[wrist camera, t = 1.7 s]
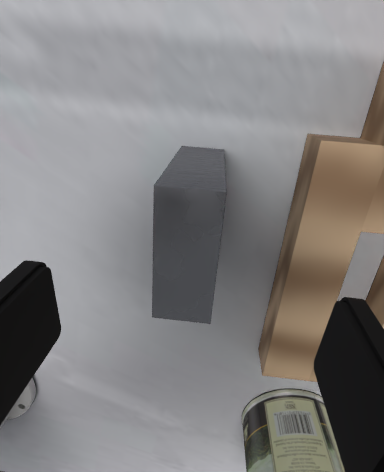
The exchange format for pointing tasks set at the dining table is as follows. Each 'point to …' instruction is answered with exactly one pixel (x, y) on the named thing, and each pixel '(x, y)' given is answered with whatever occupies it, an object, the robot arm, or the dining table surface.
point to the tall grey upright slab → (188, 234)
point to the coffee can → (289, 434)
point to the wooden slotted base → (325, 242)
